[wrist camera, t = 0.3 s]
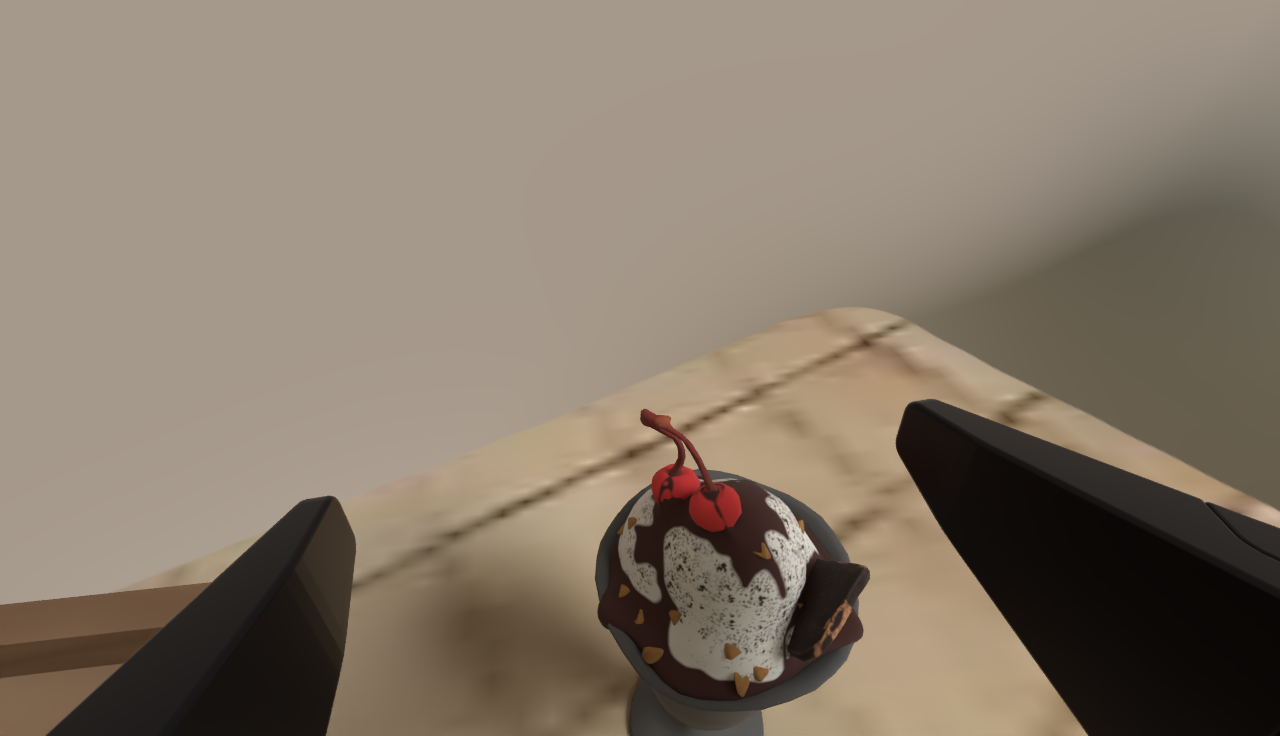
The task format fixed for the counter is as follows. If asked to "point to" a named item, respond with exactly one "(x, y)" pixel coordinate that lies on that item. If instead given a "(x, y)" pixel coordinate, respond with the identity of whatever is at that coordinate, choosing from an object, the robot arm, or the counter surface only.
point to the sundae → (723, 598)
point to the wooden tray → (73, 649)
